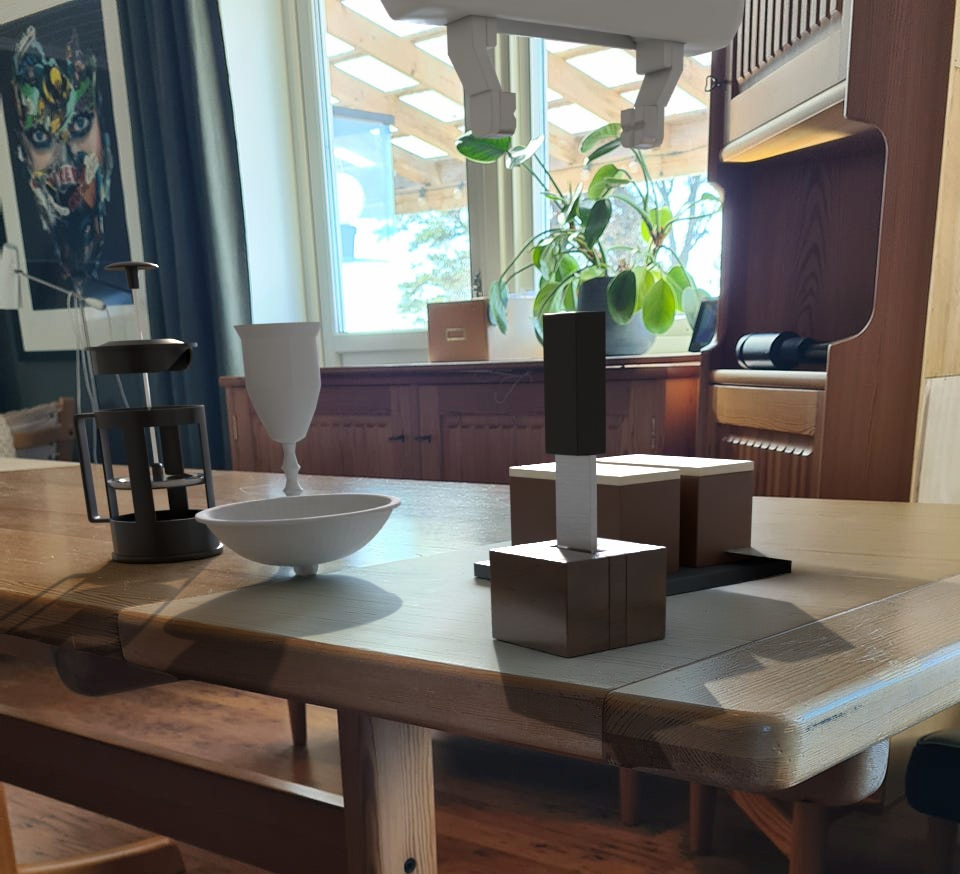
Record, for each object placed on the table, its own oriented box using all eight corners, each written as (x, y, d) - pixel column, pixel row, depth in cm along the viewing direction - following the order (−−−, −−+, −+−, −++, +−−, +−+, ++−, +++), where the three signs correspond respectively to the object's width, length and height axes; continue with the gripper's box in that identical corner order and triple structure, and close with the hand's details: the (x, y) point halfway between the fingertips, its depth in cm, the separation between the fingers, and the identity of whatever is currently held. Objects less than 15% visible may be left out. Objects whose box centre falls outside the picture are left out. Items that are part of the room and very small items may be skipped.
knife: (574, 631, 74) (570, 313, 68) (608, 639, 72) (607, 310, 66) (547, 636, 73) (540, 314, 67) (580, 645, 71) (576, 311, 65)
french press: (243, 545, 114) (213, 262, 106) (213, 561, 106) (177, 254, 97) (116, 548, 115) (76, 269, 107) (76, 565, 107) (29, 262, 98)
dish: (289, 553, 108) (283, 492, 106) (441, 558, 102) (438, 493, 101) (158, 590, 93) (148, 520, 92) (327, 598, 88) (321, 523, 86)
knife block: (586, 620, 77) (585, 535, 75) (666, 638, 72) (667, 547, 70) (491, 638, 73) (488, 549, 71) (567, 658, 68) (566, 562, 66)
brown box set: (639, 550, 102) (639, 451, 99) (791, 573, 90) (797, 459, 87) (473, 576, 94) (469, 468, 91) (616, 604, 81) (616, 480, 78)
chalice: (243, 554, 109) (219, 325, 102) (273, 542, 115) (252, 326, 108) (324, 554, 107) (304, 321, 101) (351, 542, 113) (334, 322, 107)
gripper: (413, -276, 51) (429, 119, 56) (773, -180, 62) (759, 144, 67) (337, -219, 56) (358, 140, 61) (683, -139, 67) (676, 160, 72)
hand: (570, 142), depth 64 cm, fingers open, 8 cm apart
